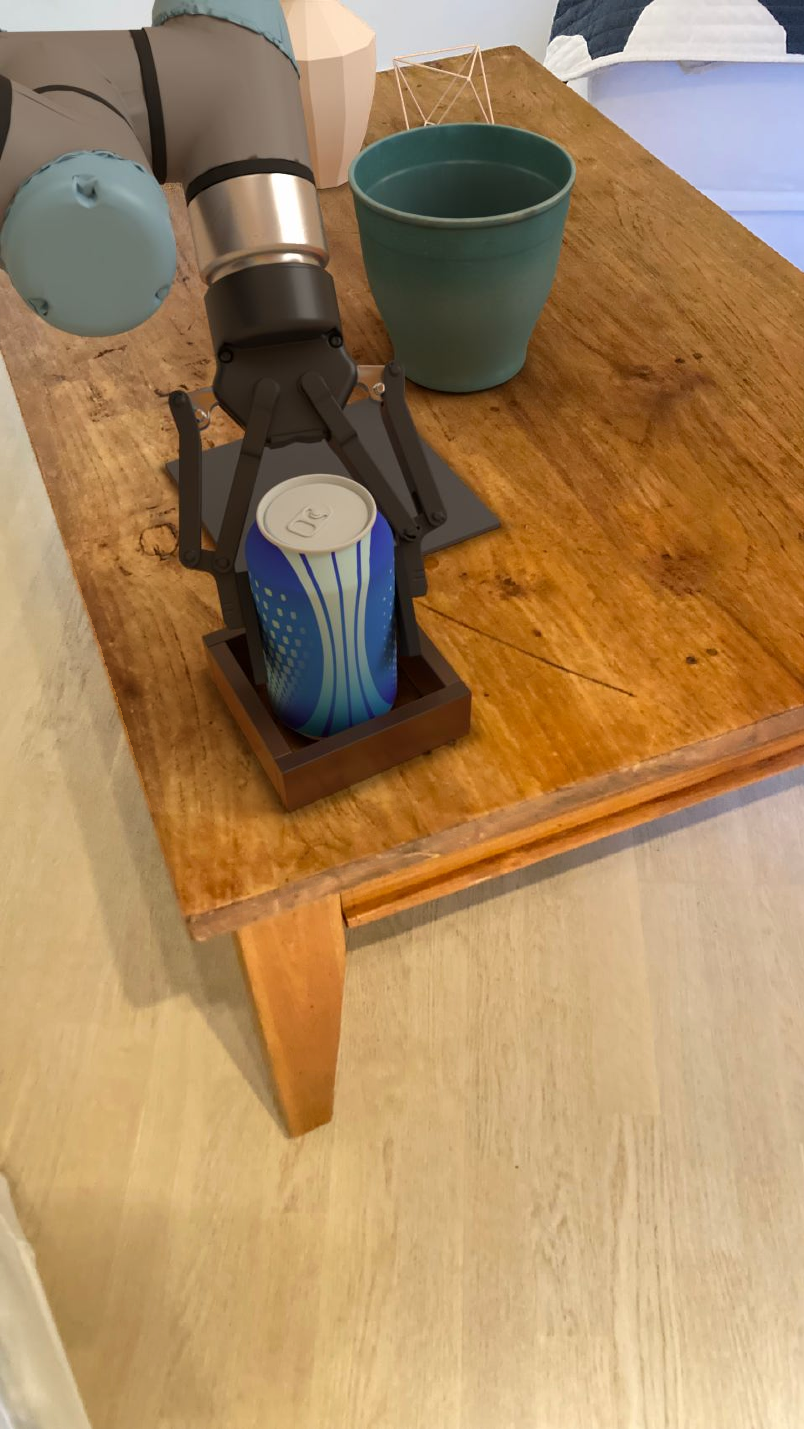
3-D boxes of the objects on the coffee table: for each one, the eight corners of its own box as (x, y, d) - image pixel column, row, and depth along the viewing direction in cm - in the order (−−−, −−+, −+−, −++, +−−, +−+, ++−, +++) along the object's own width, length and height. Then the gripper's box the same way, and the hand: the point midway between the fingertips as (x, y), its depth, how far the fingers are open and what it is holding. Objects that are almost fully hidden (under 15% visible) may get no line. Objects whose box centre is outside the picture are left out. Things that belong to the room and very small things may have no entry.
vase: (235, 167, 124) (201, -94, 105) (340, 138, 129) (325, -117, 110) (294, 213, 116) (269, -61, 97) (403, 180, 121) (399, -87, 102)
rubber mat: (165, 468, 87) (164, 463, 87) (380, 398, 93) (380, 393, 93) (263, 617, 76) (262, 612, 75) (500, 527, 81) (501, 522, 81)
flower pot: (351, 416, 91) (338, 219, 78) (365, 308, 103) (356, 121, 90) (561, 418, 91) (583, 219, 78) (551, 309, 102) (569, 120, 89)
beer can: (256, 673, 72) (222, 482, 59) (373, 642, 73) (364, 450, 61) (290, 766, 66) (261, 578, 54) (415, 730, 68) (415, 539, 56)
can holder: (210, 676, 72) (200, 635, 69) (378, 611, 76) (376, 569, 73) (289, 813, 65) (282, 774, 62) (470, 733, 68) (472, 692, 65)
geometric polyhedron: (501, 126, 130) (505, 43, 123) (493, 163, 123) (496, 77, 116) (401, 123, 132) (399, 40, 125) (387, 159, 125) (385, 74, 118)
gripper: (433, 278, 66) (493, 638, 68) (88, 324, 63) (163, 698, 65) (459, 233, 58) (525, 637, 61) (69, 281, 55) (153, 705, 58)
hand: (337, 668), depth 63 cm, fingers closed on beer can, 8 cm apart
